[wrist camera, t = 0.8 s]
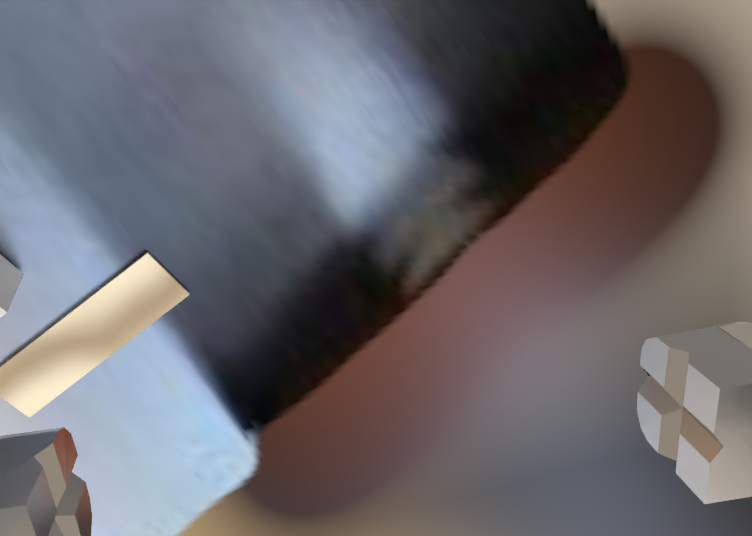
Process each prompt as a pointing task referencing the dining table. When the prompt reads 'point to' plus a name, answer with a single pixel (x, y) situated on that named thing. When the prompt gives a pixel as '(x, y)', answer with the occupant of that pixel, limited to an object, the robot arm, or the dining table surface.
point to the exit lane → (89, 334)
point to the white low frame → (8, 283)
